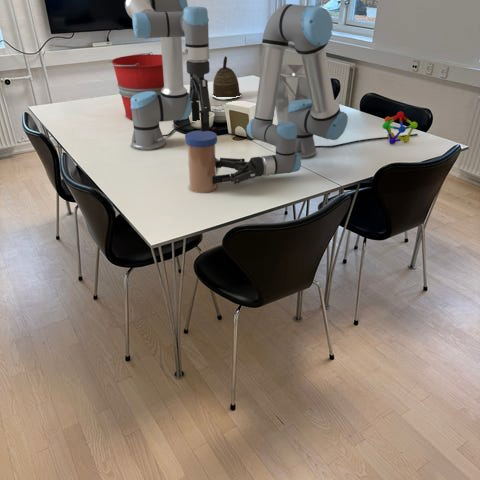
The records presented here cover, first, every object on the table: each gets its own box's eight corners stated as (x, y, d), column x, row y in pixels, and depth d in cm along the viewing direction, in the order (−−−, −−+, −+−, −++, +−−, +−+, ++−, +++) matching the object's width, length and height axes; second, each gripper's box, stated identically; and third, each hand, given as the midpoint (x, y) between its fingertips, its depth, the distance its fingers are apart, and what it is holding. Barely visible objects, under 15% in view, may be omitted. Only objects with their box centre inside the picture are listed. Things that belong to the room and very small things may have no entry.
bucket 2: (296, 138, 215) (301, 78, 201) (255, 124, 234) (256, 68, 219) (335, 125, 232) (342, 70, 217) (294, 113, 251) (297, 61, 236)
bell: (227, 105, 294) (202, 96, 282) (238, 66, 289) (213, 55, 277) (243, 108, 280) (217, 98, 268) (255, 66, 275) (229, 55, 263)
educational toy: (377, 146, 209) (379, 114, 202) (384, 138, 219) (386, 107, 211) (411, 149, 202) (415, 116, 195) (417, 141, 212) (420, 109, 204)
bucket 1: (125, 105, 263) (118, 51, 247) (184, 106, 262) (180, 52, 246) (109, 123, 234) (99, 63, 218) (175, 124, 233) (170, 64, 217)
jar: (186, 183, 171) (183, 133, 160) (211, 180, 174) (210, 130, 163) (194, 194, 163) (191, 142, 152) (219, 190, 166) (218, 139, 155)
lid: (181, 138, 162) (181, 132, 160) (211, 135, 165) (211, 128, 164) (190, 149, 153) (189, 142, 151) (221, 145, 156) (221, 138, 155)
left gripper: (178, 54, 153) (182, 116, 164) (195, 68, 133) (199, 137, 145) (199, 53, 155) (201, 115, 166) (219, 66, 135) (220, 135, 147)
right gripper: (272, 188, 162) (216, 196, 157) (250, 163, 182) (200, 169, 177) (273, 169, 158) (216, 176, 153) (251, 146, 178) (199, 151, 173)
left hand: (200, 125), depth 156 cm, fingers open, 12 cm apart
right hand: (207, 172), depth 165 cm, fingers open, 13 cm apart
